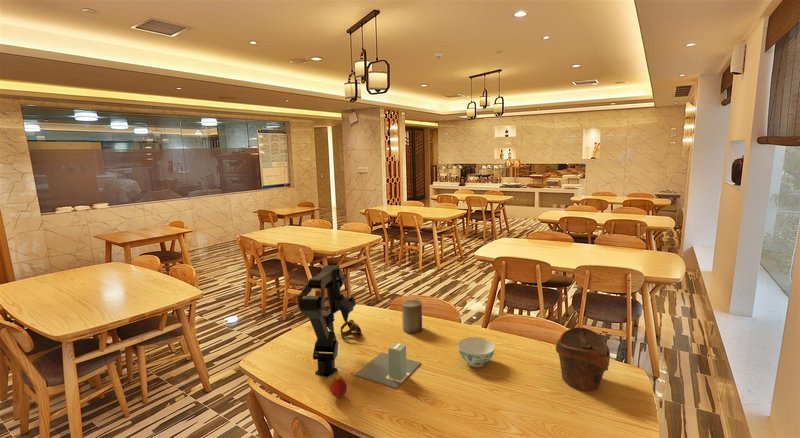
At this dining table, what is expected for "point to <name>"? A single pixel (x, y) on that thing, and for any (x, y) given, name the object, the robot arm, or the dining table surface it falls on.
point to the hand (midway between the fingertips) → (339, 327)
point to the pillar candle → (412, 316)
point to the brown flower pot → (582, 358)
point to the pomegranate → (338, 387)
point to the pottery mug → (352, 327)
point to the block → (397, 361)
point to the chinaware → (476, 350)
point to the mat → (385, 371)
